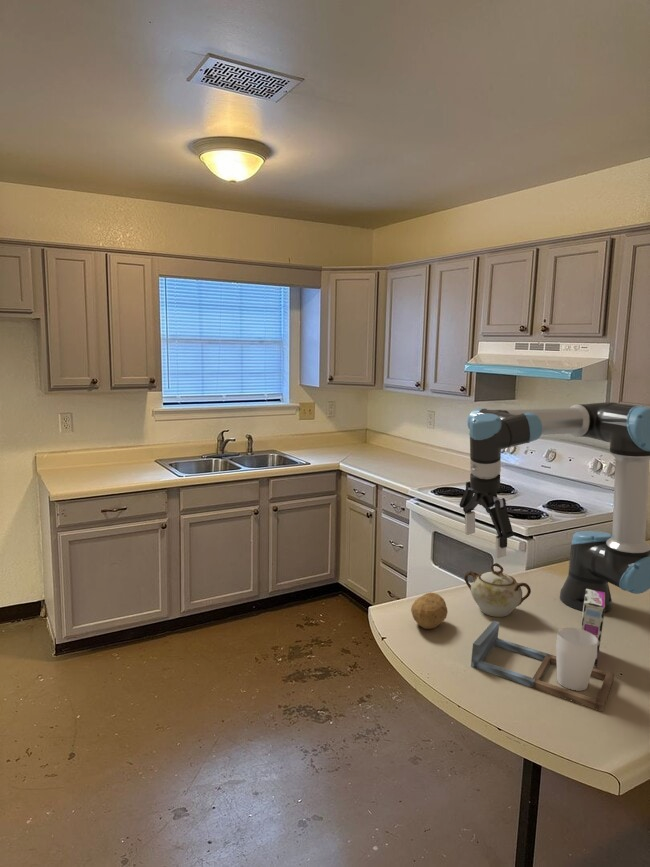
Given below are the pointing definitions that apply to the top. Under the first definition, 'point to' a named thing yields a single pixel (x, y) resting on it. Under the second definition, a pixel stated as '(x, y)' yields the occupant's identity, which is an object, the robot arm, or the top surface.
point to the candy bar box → (593, 615)
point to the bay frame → (491, 640)
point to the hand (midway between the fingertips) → (484, 544)
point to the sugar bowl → (496, 592)
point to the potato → (429, 610)
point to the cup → (575, 657)
